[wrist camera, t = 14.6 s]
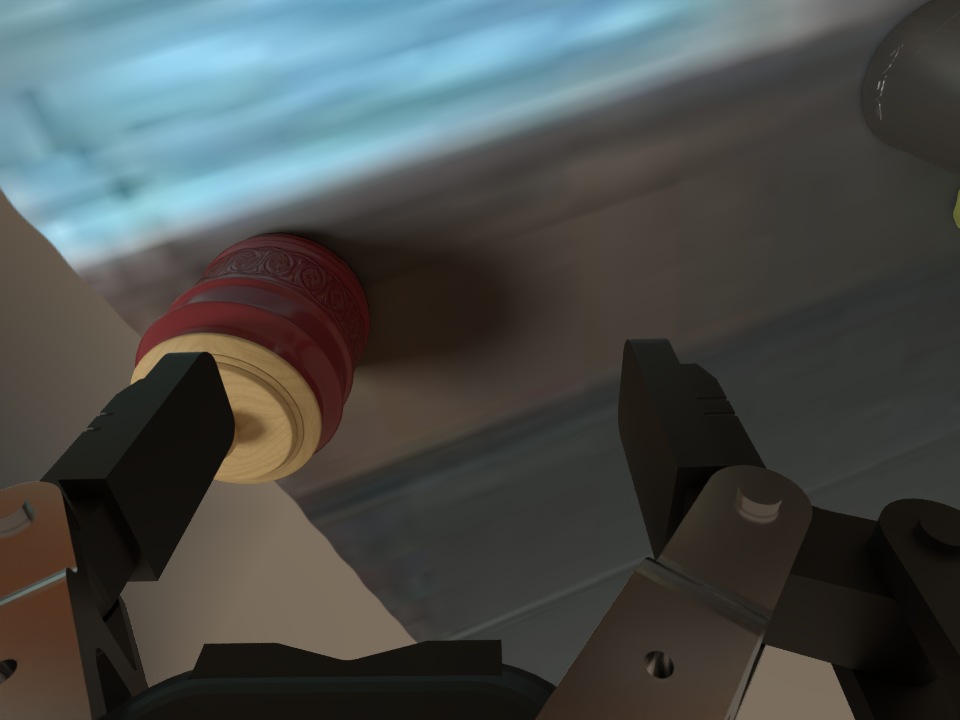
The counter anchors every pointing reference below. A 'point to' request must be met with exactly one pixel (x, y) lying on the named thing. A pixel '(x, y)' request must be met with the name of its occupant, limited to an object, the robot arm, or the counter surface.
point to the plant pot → (957, 211)
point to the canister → (271, 347)
